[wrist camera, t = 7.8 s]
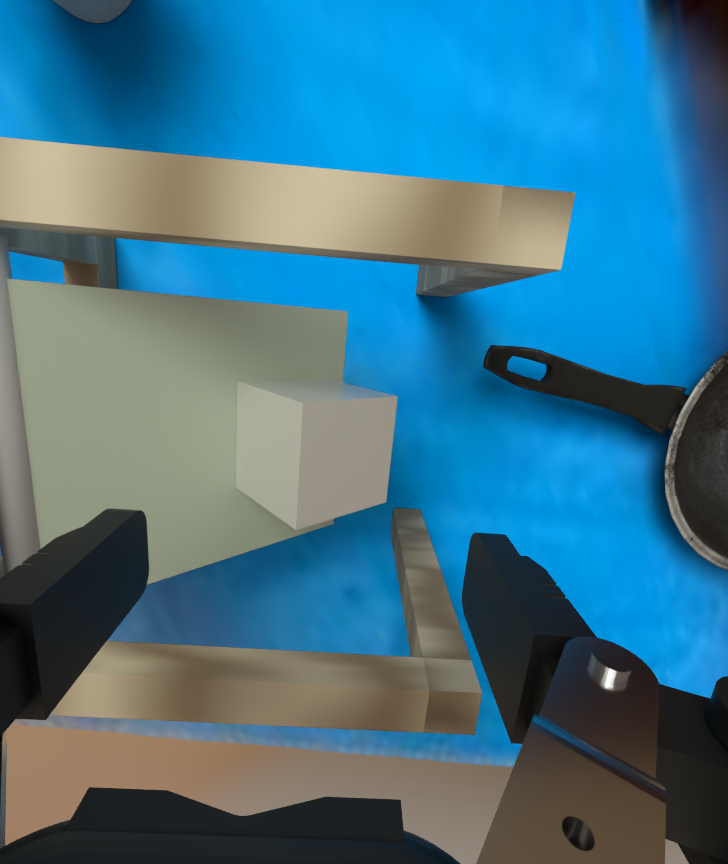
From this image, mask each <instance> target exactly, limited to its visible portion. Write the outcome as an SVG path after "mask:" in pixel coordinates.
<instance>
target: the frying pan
mask: <svg viewBox="0 0 728 864" xmlns="http://www.w3.org/2000/svg"><path fill="white" fill-rule="evenodd" d="M512 356H516V357H521V358H525V359H529V360H533V361H536V362H539V363H543V364H546V368H547V371H546V374H545V376H544V377H543V378H542V379H541V380H540V381H538V380H535V379H531V378H527V377H524V376H521V375H518V374H516V373H513V372H510V371H508V370H507V363H508V360H509V359H510V358H511V357H512ZM483 367H484V368H485V369H487V370H489V371H491V372H492V373H494V374H496V375H497V376H499V377H501V378H503V379H504V380H506V381H508V382H510V383H512V384H514V385H517V386H519V387H522V388H524V389H528V390H532V391H537V392H541V393H545V394H550V395H554V396H559V397H563V398H568V399H572V400H577V401H581V402H585V403H589V404H593V405H597V406H600V407H603V408H606V409H610V410H613V411H616V412H619V413H622V414H625V415H628V416H631V417H632V418H634V419H635V420H637V421H638V422H640V423H641V424H643V425H644V426H646V427H648V428H650V429H652V430H654V431H656V432H658V433H661V434H665V431H666V429H669V430H673V431H672V433H671V437H670V440H669V445H668V450H667V455H666V460H665V465H664V470H665V492H666V497H667V501H668V505H669V508H670V512H671V516H672V518H673V520H674V522H675V524H676V525H677V527H678V529H679V531H680V533H681V535H682V536H683V538H684V539H685V540H686V541H687V542H688V543H689V544H690V545H691V546H692V547H693V549H694V550H695V551H696V552H697V553H698V554H699V555H701V556H703V557H704V558H706V559H707V560H709V561H710V562H712V563H713V564H715V565H716V566H718V567H721V568H723V569H726V570H728V351H727V352H726V353H725V354H724V355H723V356H721V357H720V358H719V359H718V360H717V361H716V362H715V363H714V364H713V365H712V366H711V368H710V369H709V370H708V371H707V373H706V374H705V375H704V376H703V378H702V379H701V380H700V381H699V383H698V384H697V385H696V386H695V388H694V389H693V391H692V392H691V394H690V395H689V396H687V395H684V392H685V389H686V388H683V387H678V386H670V385H643V384H640V383H636V382H632V381H629V380H625V379H621V378H618V377H614V376H610V375H607V374H604V373H601V372H599V371H596V370H593V369H590V368H588V367H585V366H582V365H579V364H577V363H574V362H571V361H568V360H566V359H563V358H560V357H557V356H555V355H552V354H549V353H547V352H544V351H541V350H537V349H532V348H527V347H515V346H495V345H491V346H490V348H489V349H488V351H487V353H486V355H485V358H484V364H483Z"/></svg>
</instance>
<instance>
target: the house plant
mask: <svg viewBox="0 0 728 864" xmlns="http://www.w3.org/2000/svg"><path fill="white" fill-rule="evenodd" d="M53 1H54V2H56V3H57V4H59V5H60V6H61V7H63V8H64V9H65V10H67V11H68V12H69V13H71V14H72V15H74V16H76V17H78V18H80V19H82V20H83V21H87V22H92V23H104V22H110V21H111V20H113V19H114V18H116V17H117V16H119V15H120V14H121V13H122V12H123V11H124V10H125V9H126V8H127V7H128V6H129V4H130V3H131V2H132V0H53Z"/></svg>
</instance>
